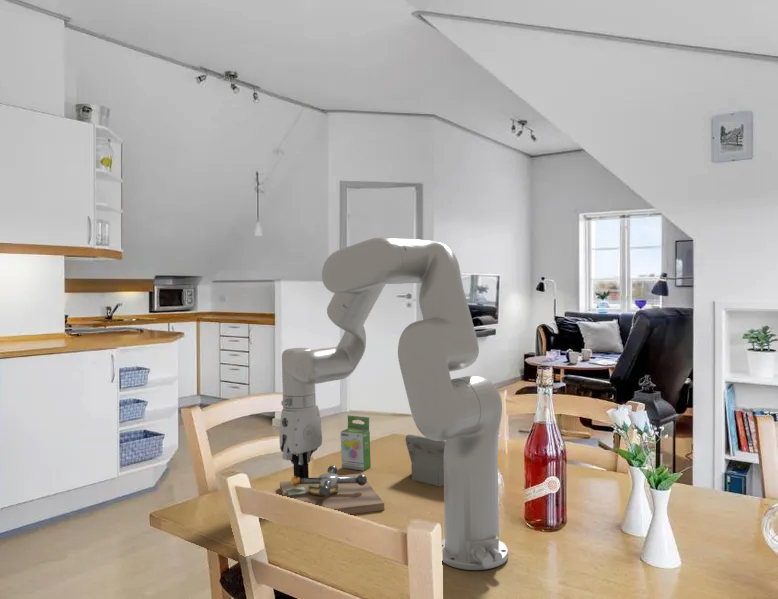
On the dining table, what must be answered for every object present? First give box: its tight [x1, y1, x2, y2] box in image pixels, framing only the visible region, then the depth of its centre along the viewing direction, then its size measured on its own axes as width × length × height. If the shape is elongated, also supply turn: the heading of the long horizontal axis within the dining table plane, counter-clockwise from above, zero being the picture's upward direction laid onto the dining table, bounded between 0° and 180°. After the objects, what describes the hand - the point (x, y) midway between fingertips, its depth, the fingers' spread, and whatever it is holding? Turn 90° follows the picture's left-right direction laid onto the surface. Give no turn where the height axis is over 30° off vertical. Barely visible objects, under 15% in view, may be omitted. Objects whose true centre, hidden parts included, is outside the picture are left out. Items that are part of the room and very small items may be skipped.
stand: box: [279, 473, 385, 515], centre depth 137 cm, size 22×20×2 cm
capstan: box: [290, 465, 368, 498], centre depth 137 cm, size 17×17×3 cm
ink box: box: [340, 414, 372, 472], centre depth 161 cm, size 7×4×13 cm, turn 61°
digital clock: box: [405, 433, 446, 488], centre depth 149 cm, size 16×9×11 cm, turn 38°
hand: (301, 480), depth 140 cm, fingers closed
